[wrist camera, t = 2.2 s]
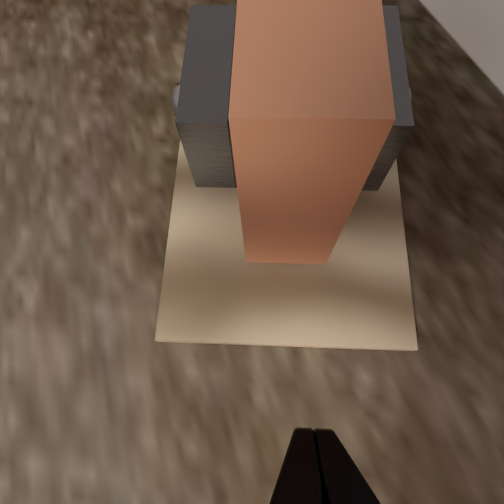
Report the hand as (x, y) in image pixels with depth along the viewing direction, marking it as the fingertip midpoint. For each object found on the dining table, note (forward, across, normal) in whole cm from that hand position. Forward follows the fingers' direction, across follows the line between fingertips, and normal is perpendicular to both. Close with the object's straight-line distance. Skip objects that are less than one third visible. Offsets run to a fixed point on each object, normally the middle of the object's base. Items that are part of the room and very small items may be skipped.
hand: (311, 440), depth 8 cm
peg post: (+15, 0, 0) cm, 15 cm away
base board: (+17, 0, 0) cm, 17 cm away
